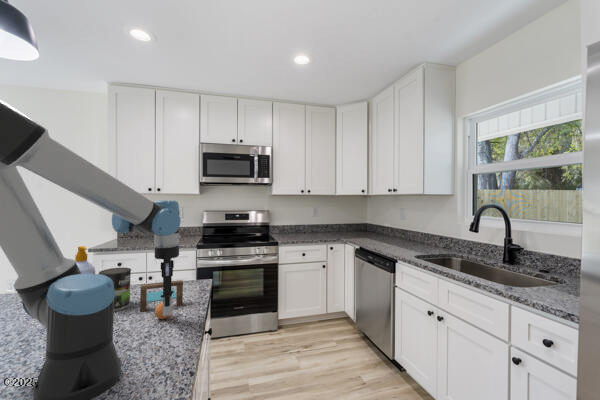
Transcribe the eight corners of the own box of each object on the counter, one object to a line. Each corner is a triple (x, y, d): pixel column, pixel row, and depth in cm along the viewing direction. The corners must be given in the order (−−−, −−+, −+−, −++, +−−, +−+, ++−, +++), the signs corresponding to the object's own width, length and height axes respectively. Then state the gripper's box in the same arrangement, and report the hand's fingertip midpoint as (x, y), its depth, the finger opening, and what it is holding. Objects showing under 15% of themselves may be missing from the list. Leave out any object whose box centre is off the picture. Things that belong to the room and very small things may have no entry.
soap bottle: (68, 317, 93) (70, 249, 93) (61, 310, 99) (63, 246, 99) (98, 310, 100) (100, 246, 100) (90, 303, 106) (92, 243, 106)
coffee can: (136, 302, 108) (136, 267, 108) (118, 312, 98) (119, 274, 98) (111, 301, 108) (111, 266, 109) (90, 312, 98) (91, 273, 98)
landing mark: (176, 297, 114) (176, 297, 114) (144, 302, 108) (144, 302, 108) (174, 289, 124) (174, 289, 124) (144, 293, 118) (144, 293, 118)
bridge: (182, 305, 106) (182, 281, 106) (140, 311, 99) (140, 287, 99) (181, 302, 109) (182, 279, 109) (140, 308, 102) (140, 284, 102)
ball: (167, 303, 92) (167, 296, 96) (151, 313, 90) (152, 305, 95) (175, 315, 93) (175, 308, 98) (159, 325, 91) (159, 316, 96)
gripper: (180, 248, 87) (180, 320, 87) (178, 241, 98) (178, 305, 99) (153, 250, 83) (154, 325, 84) (155, 243, 95) (155, 309, 95)
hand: (167, 314), depth 91 cm, fingers closed
